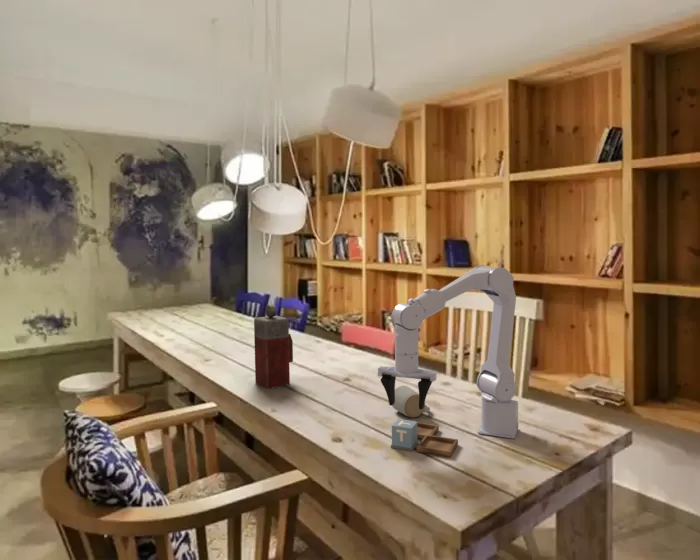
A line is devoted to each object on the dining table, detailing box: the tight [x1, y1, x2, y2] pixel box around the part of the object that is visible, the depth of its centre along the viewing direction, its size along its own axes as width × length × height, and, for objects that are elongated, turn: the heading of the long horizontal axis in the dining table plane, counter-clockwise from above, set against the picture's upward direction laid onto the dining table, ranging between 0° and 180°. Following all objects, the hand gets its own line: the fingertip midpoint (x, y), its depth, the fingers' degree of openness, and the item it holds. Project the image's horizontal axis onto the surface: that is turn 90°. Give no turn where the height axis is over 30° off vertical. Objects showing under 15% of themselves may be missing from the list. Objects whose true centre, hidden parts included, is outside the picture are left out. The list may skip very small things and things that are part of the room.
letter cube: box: [391, 418, 418, 448], centre depth 133 cm, size 5×5×5 cm
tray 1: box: [416, 421, 440, 441], centre depth 141 cm, size 8×8×1 cm
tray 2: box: [416, 435, 459, 458], centre depth 131 cm, size 8×8×1 cm
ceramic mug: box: [392, 385, 431, 419], centre depth 156 cm, size 11×8×8 cm
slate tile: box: [390, 440, 420, 452], centre depth 133 cm, size 6×6×1 cm
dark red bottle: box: [253, 304, 294, 390], centre depth 187 cm, size 9×11×28 cm
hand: (406, 406), depth 133 cm, fingers open, 7 cm apart
